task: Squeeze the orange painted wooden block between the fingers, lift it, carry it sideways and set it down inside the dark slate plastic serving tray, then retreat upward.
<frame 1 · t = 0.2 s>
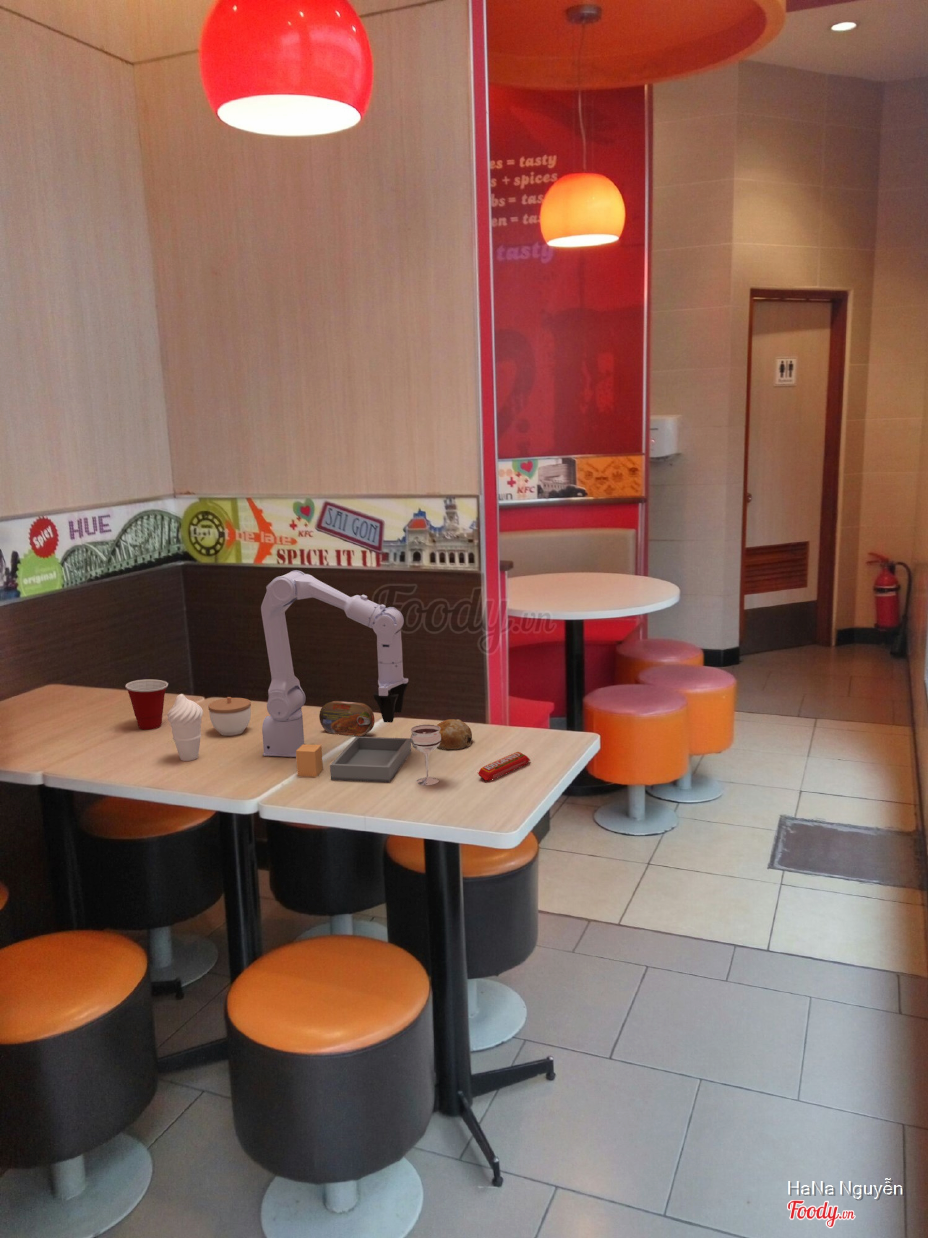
hand: (392, 717, 230), 10 cm above the table, tool pointing down, fingers open, 7 cm apart
serving tray: (372, 765, 227), on the table
candy bar: (504, 773, 221), on the table
soft serve ice cream cone: (189, 758, 236), on the table
lidded jar: (231, 732, 254), on the table
tin: (348, 734, 250), on the table
plastic cup: (151, 727, 261), on the table
orange block: (310, 772, 223), on the table
wineglass: (427, 781, 216), on the table
bread roll: (450, 745, 240), on the table
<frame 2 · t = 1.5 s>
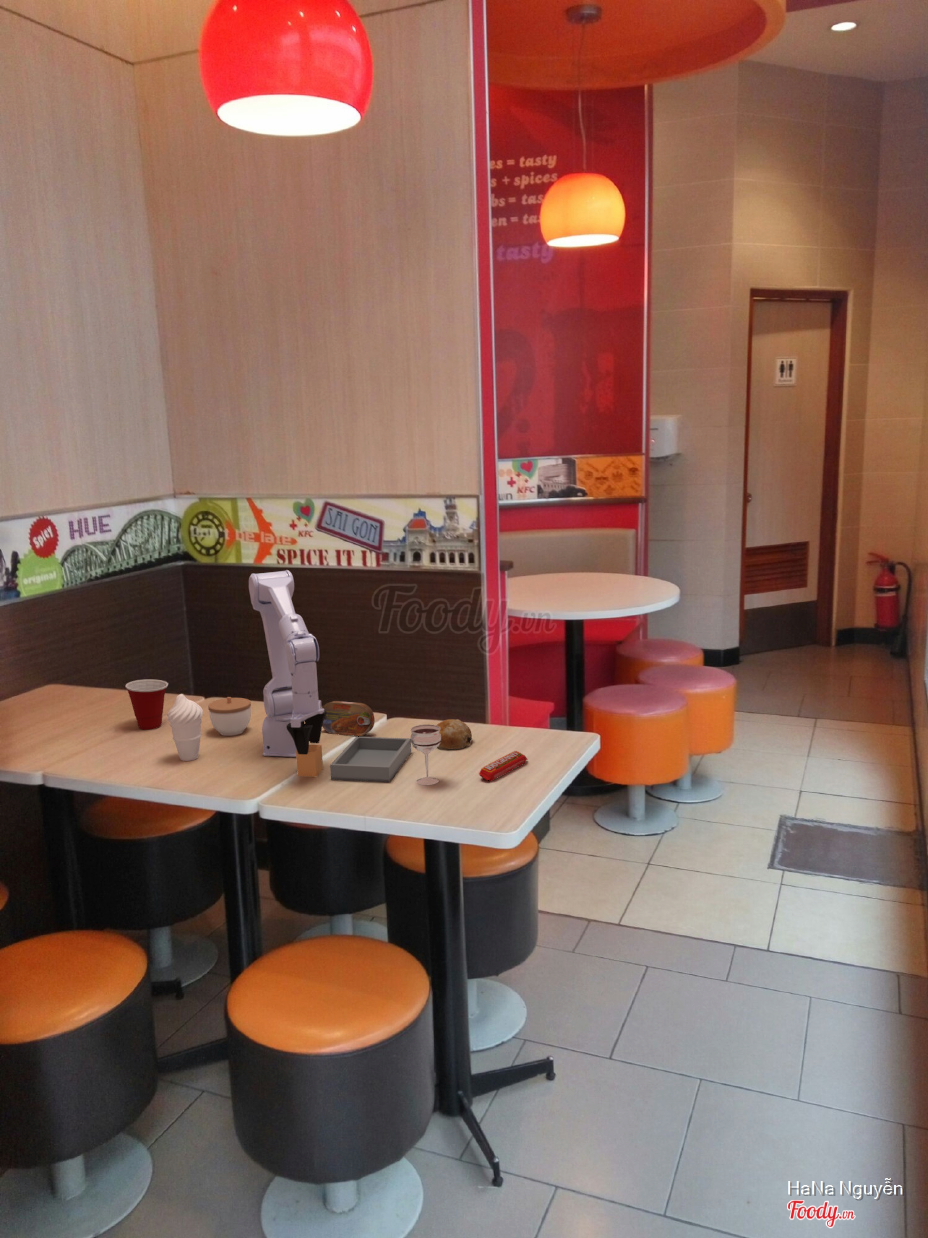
hand: (308, 748, 222), 6 cm above the table, tool pointing down, fingers open, 7 cm apart
nothing on the table moved.
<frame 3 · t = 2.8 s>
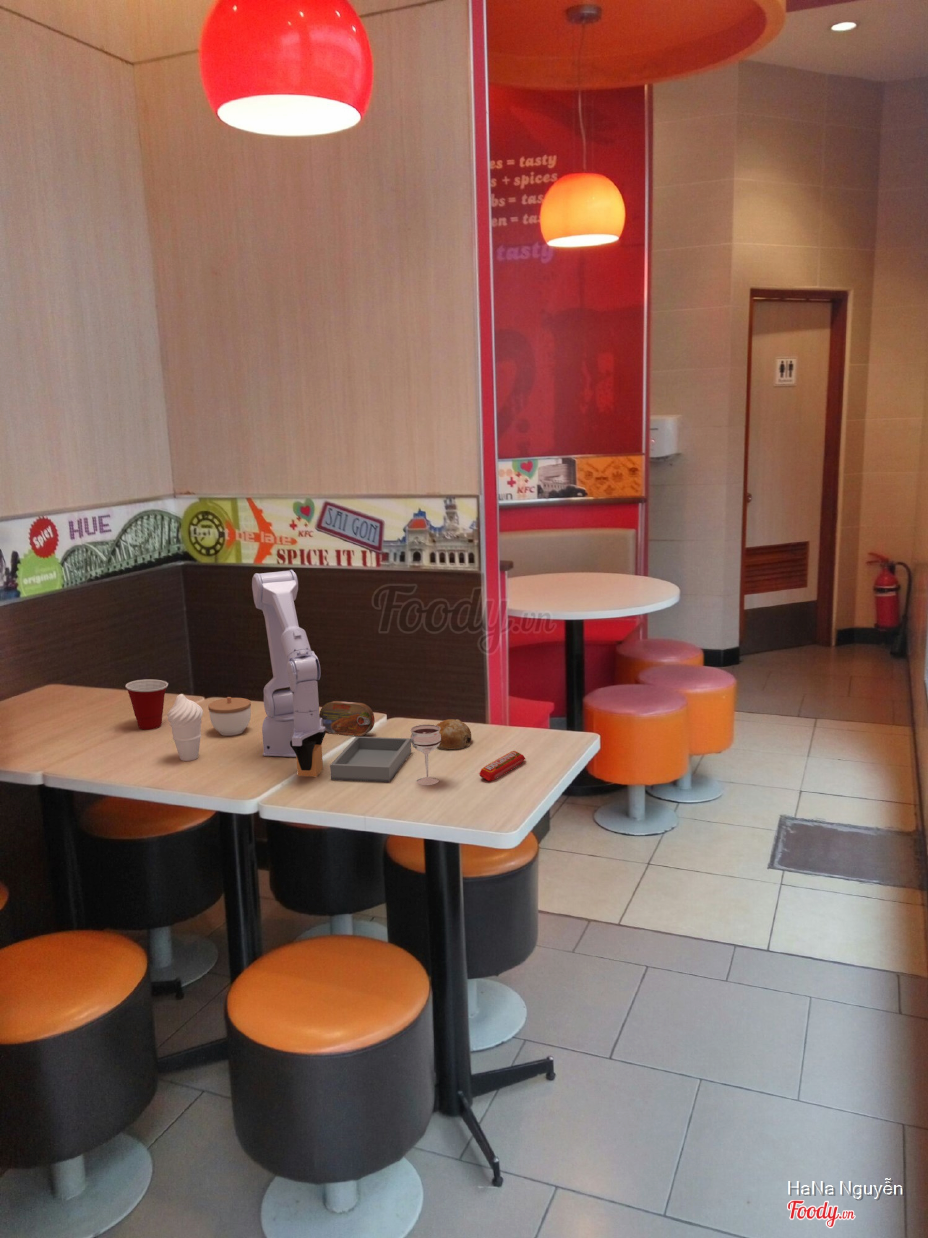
hand: (310, 766, 223), 2 cm above the table, tool pointing down, fingers closed on orange block, 4 cm apart
orange block: (310, 772, 223), on the table, touching gripper
everything else where it was.
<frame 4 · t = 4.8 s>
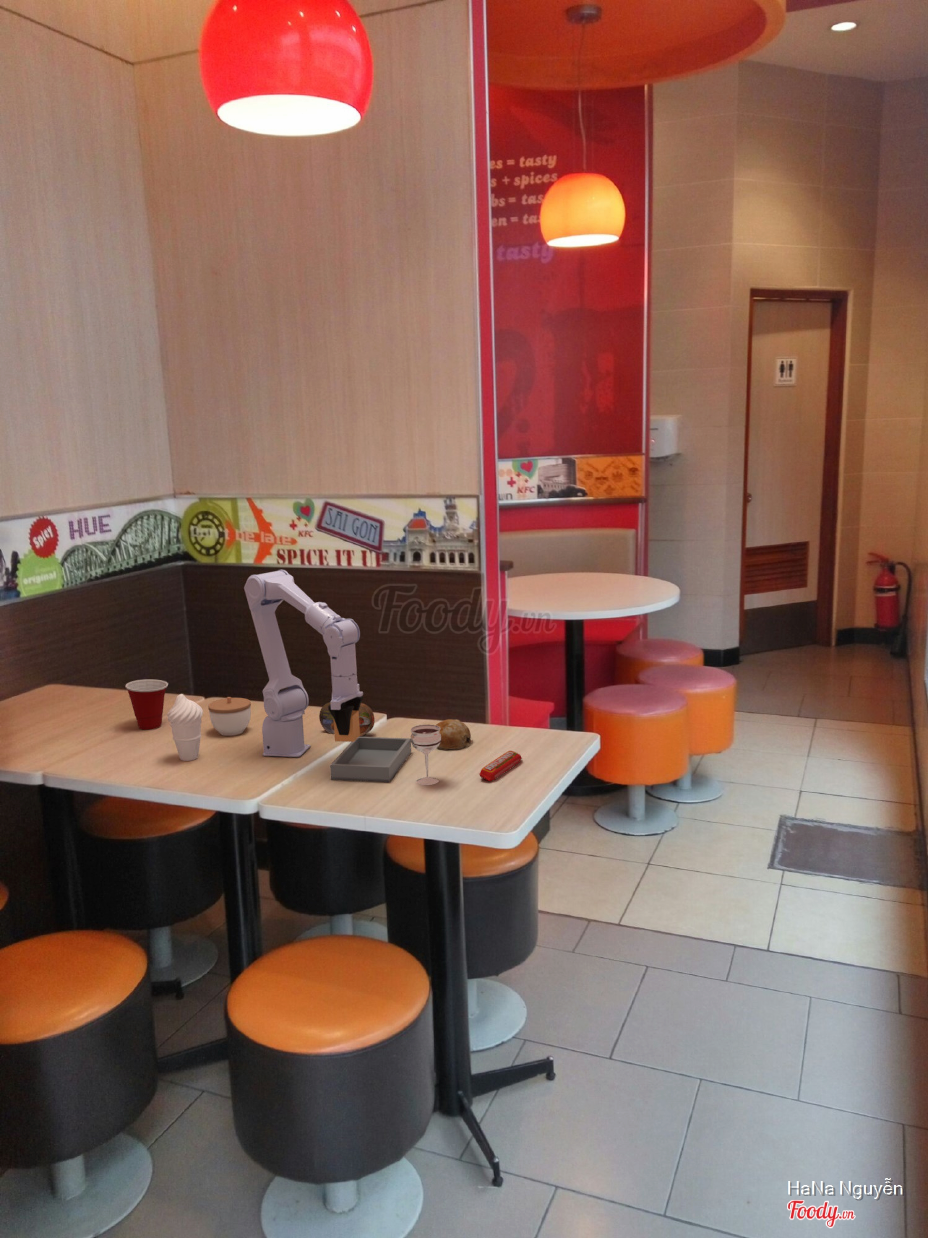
hand: (347, 731, 223), 9 cm above the table, tool pointing down, fingers closed on orange block, 4 cm apart
orange block: (347, 738, 224), point 7 cm above the table, touching gripper
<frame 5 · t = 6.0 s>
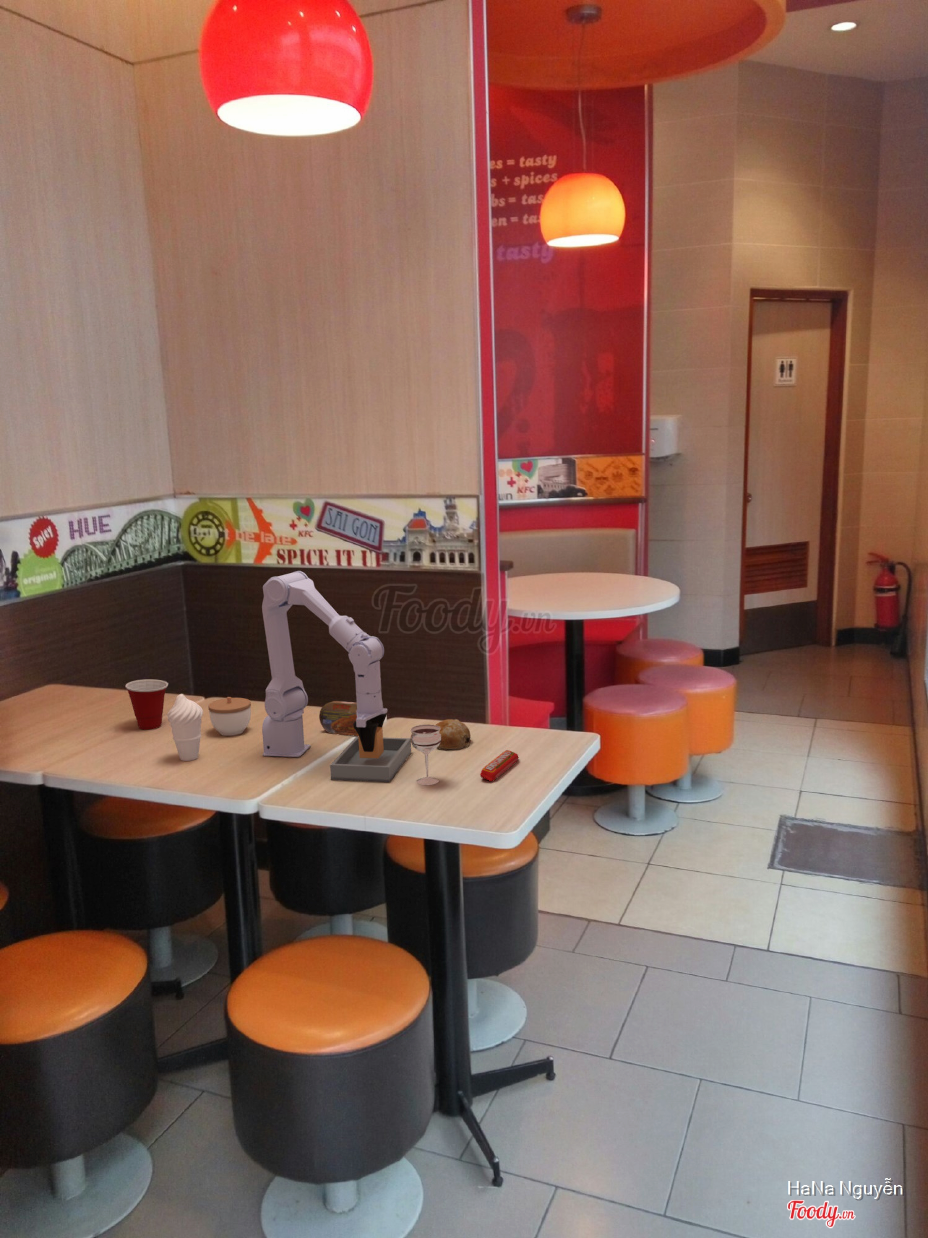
hand: (371, 747, 226), 4 cm above the table, tool pointing down, fingers closed on orange block, 4 cm apart
orange block: (371, 754, 226), point 3 cm above the table, touching gripper
when the fingers open (3 cm above the table, at t = 7.1 s): orange block drops 1 cm, resting on serving tray.
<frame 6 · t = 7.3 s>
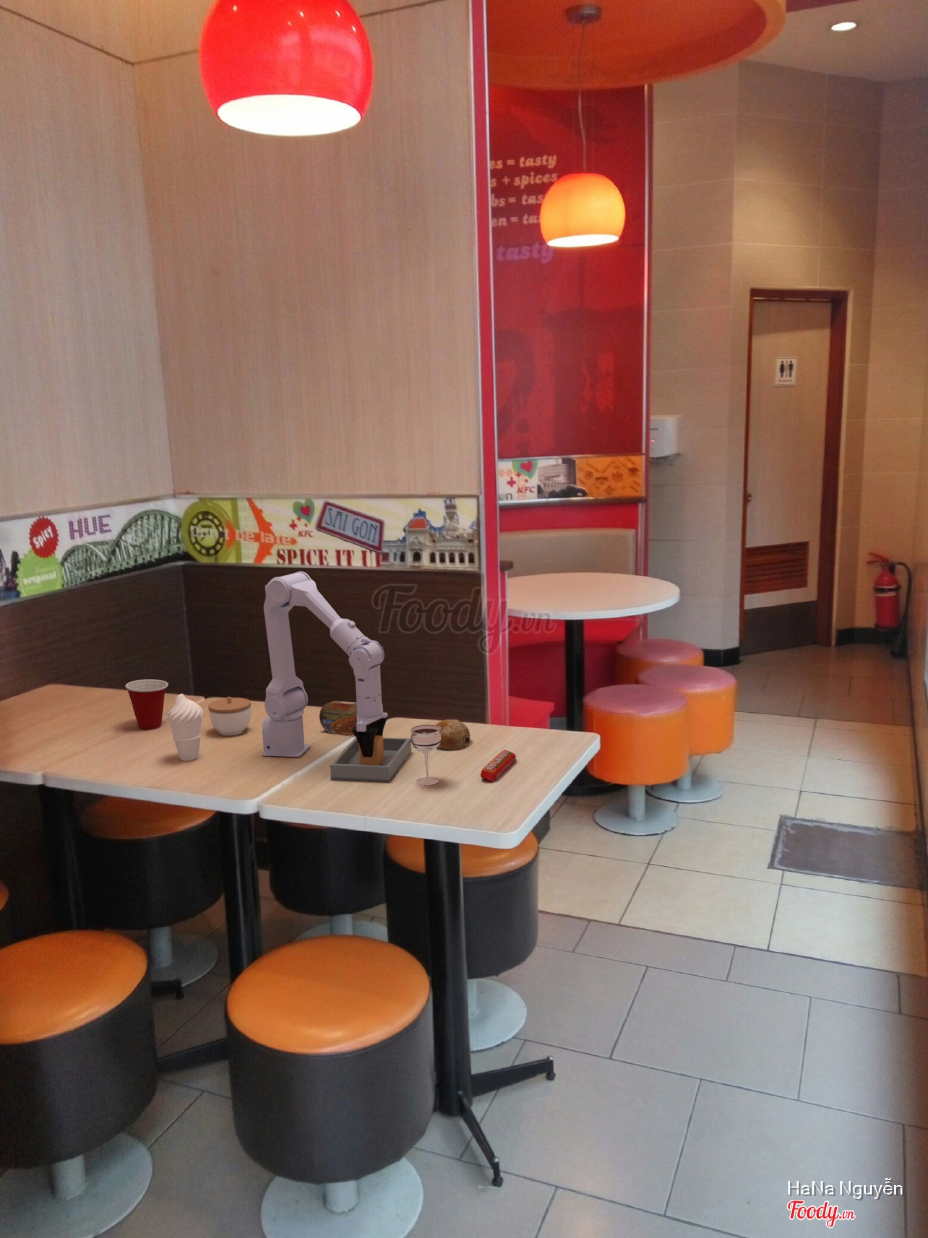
hand: (371, 751, 226), 3 cm above the table, tool pointing down, fingers open, 6 cm apart
orange block: (372, 763, 226), point 1 cm above the table, touching serving tray
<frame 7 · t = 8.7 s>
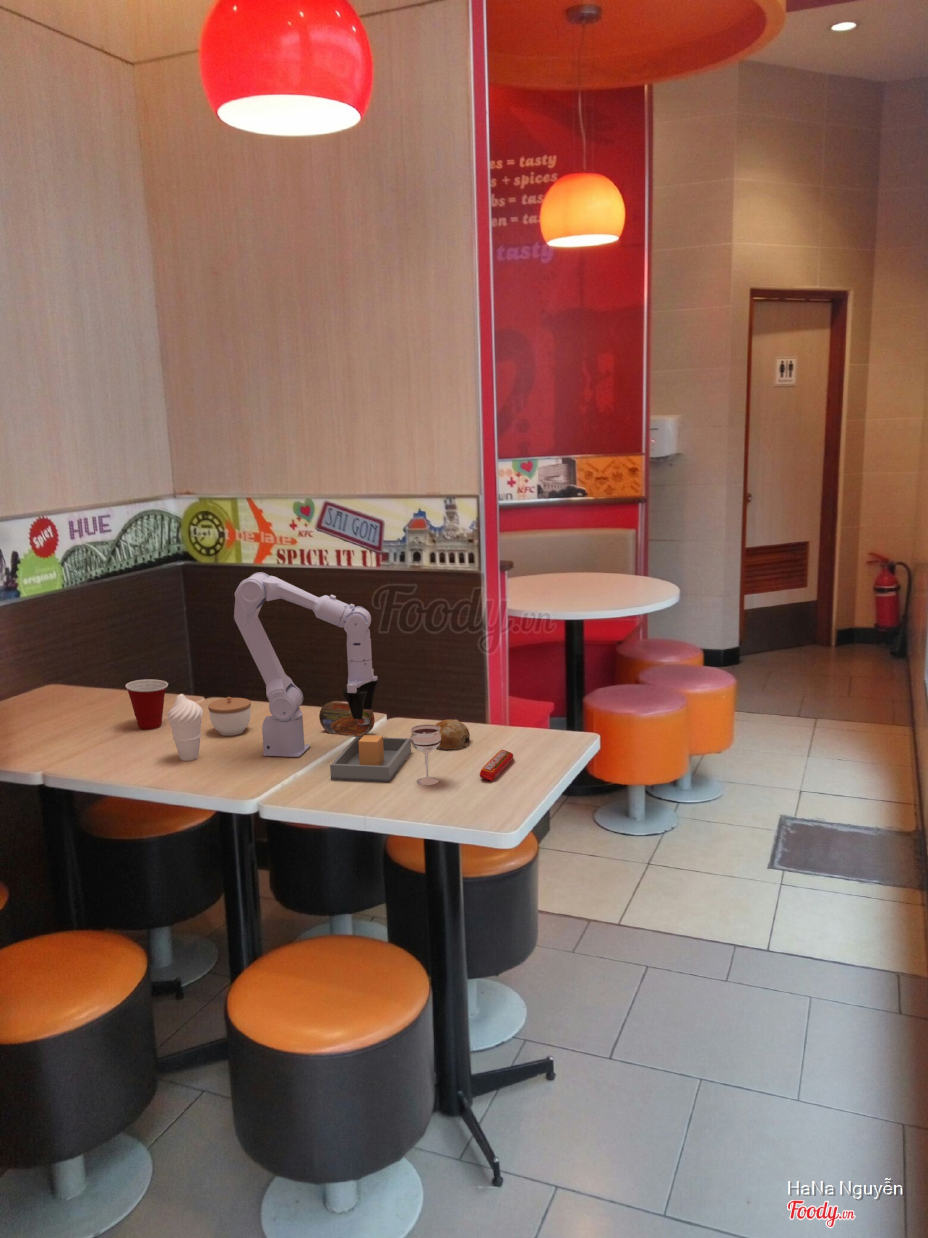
hand: (362, 713, 235), 9 cm above the table, tool pointing down, fingers open, 7 cm apart
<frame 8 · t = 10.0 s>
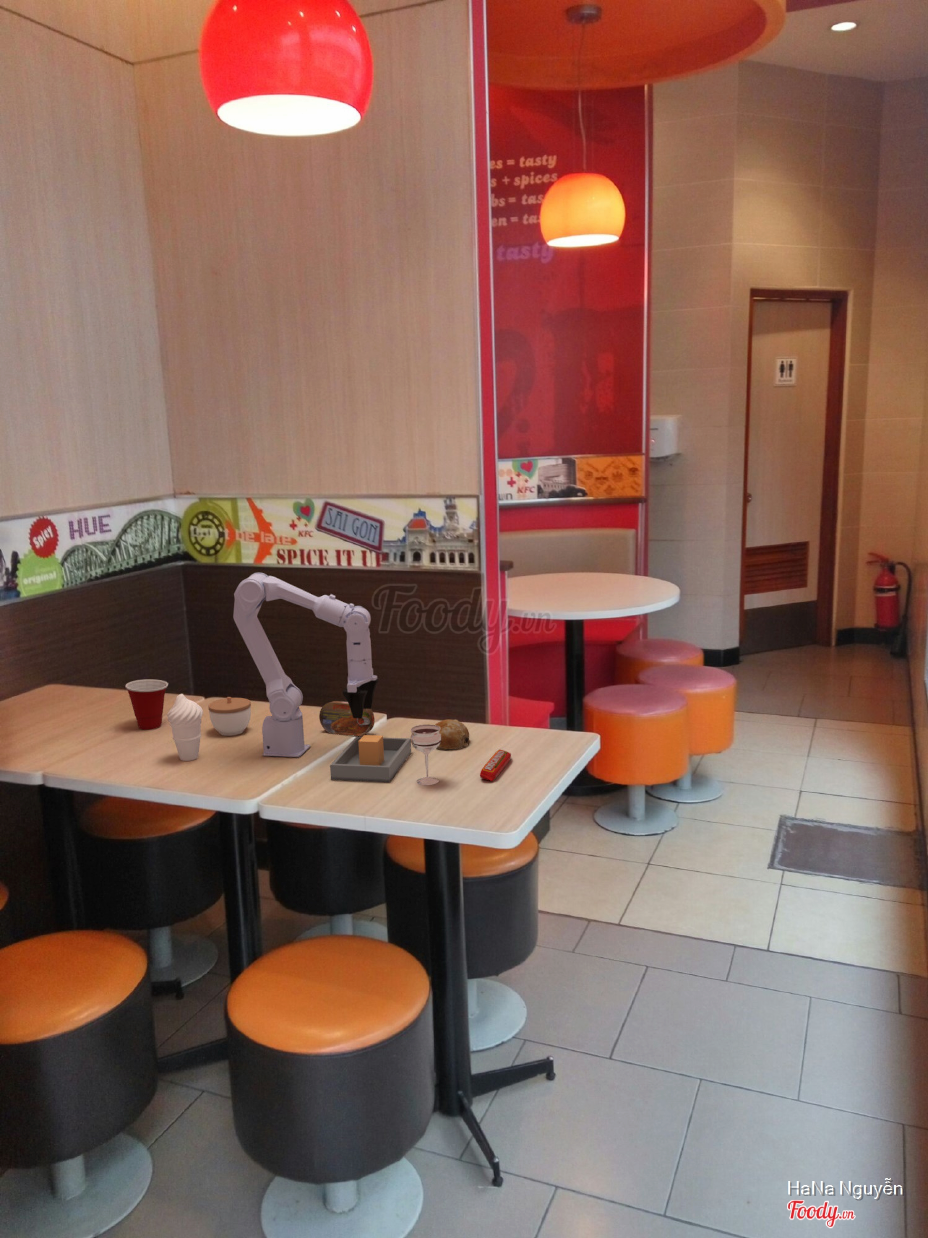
hand: (362, 713, 235), 9 cm above the table, tool pointing down, fingers open, 7 cm apart
at the end: orange block inside the target area on the serving tray (0.1 cm from its centre), point 0.6 cm above the serving tray's base; orange block tilted 0°; the gripper is holding nothing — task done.
